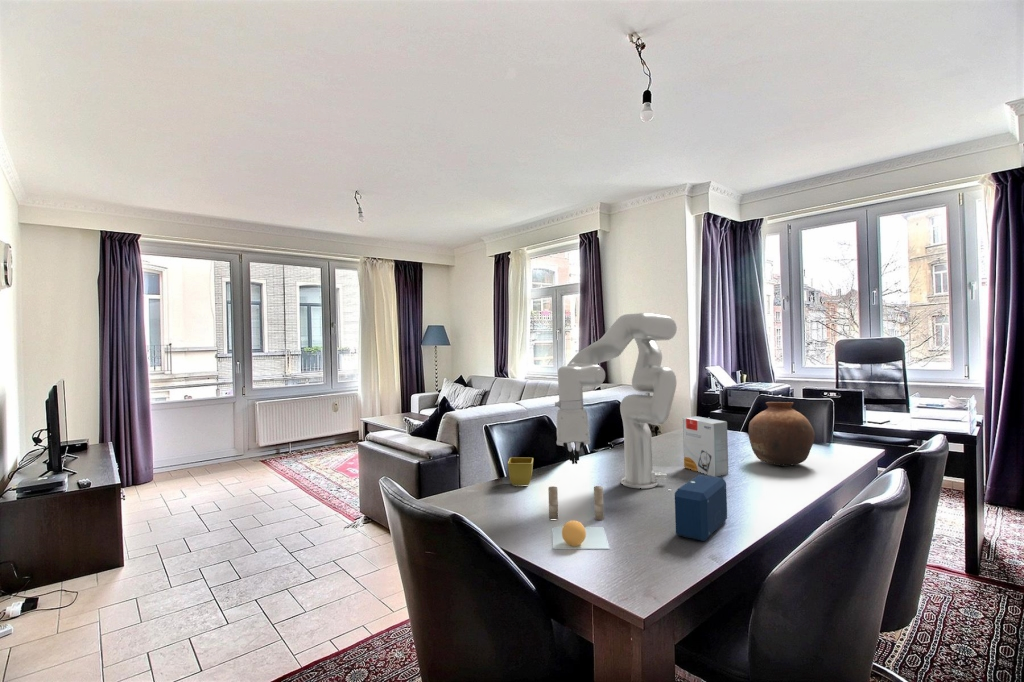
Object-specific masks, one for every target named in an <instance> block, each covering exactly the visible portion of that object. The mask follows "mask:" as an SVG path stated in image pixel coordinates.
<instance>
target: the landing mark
mask: <svg viewBox="0 0 1024 682" xmlns="http://www.w3.org/2000/svg"><path fill="white" fill-rule="evenodd" d="M584 528H585V531H586V537H585V540H584V541H583V542H582V543H581V544H580V545H578V546H571V545H569V544H567V543H566V542H565V541H564V539H563V537H562V529H563V526H562V527H561V526H552V531H551V532H552V533H551V534H552V550H611V549H610V544H609V542H608V537H607V535H606V531H605V528H604V526H584Z"/></svg>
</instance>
